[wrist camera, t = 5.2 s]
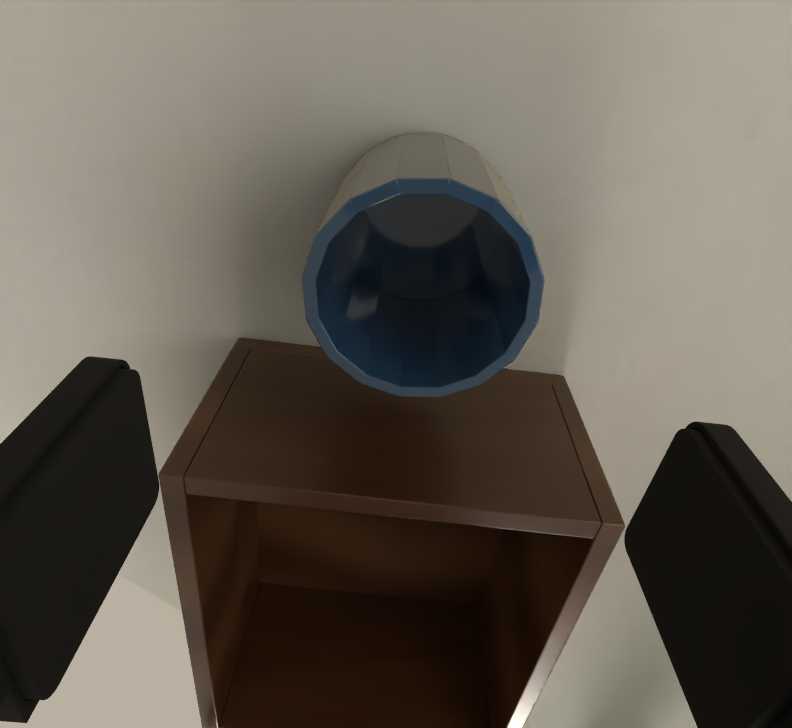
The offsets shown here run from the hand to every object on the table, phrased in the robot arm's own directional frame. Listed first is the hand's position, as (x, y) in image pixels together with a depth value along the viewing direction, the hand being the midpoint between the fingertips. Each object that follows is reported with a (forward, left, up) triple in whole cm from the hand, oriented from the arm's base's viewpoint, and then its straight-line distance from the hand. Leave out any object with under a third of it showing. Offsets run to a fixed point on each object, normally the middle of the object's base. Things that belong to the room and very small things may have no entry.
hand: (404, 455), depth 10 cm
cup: (0, 0, -14) cm, 14 cm away
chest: (+12, +10, -14) cm, 20 cm away
